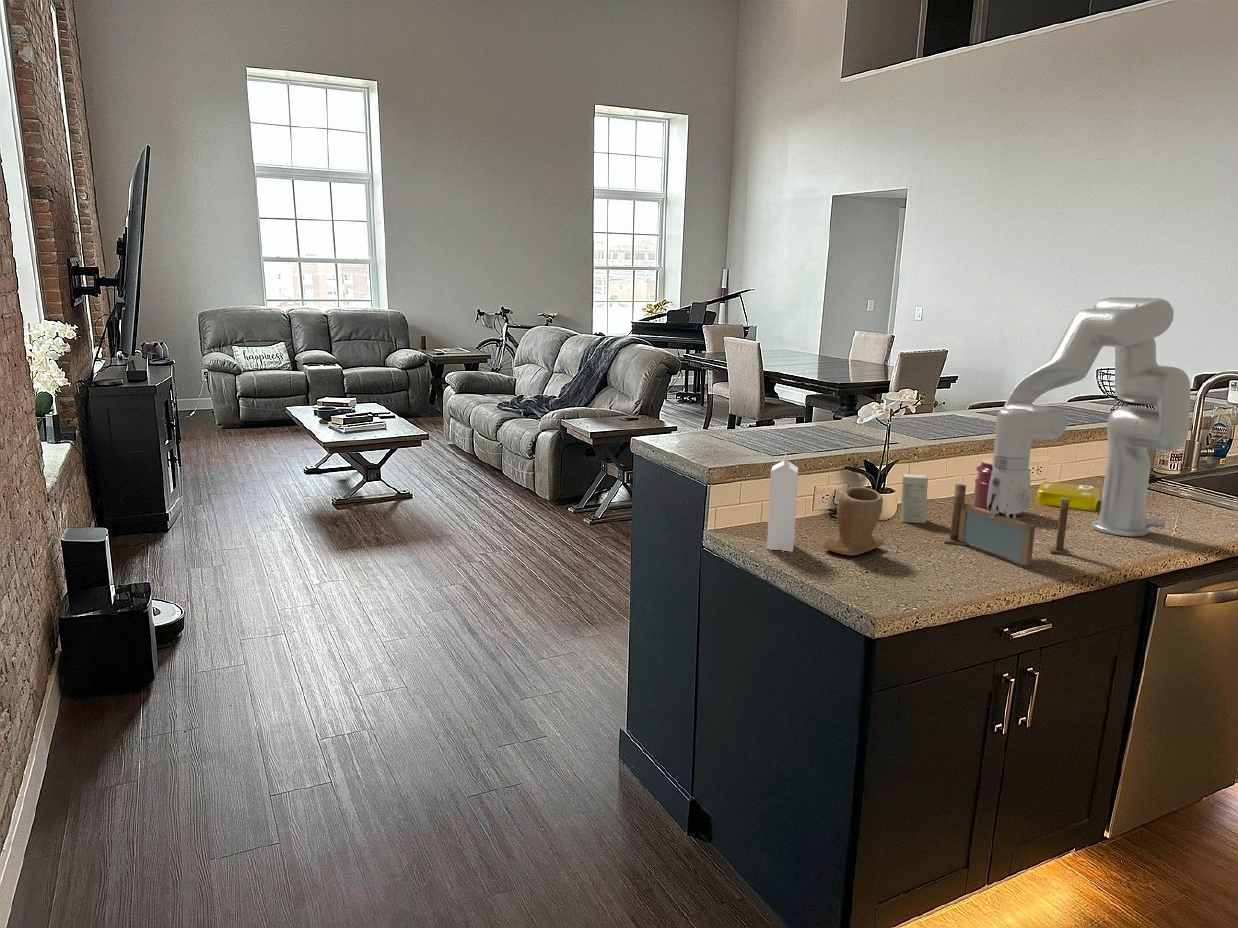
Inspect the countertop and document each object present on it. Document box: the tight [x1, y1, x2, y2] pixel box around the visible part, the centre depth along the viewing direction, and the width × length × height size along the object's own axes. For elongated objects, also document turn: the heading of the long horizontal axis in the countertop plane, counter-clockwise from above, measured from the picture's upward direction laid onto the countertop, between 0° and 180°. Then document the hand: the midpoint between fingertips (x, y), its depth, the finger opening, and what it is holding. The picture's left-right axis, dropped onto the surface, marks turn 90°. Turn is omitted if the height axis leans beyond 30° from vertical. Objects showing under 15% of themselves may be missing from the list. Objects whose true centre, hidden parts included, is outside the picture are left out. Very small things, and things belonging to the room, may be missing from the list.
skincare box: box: [900, 473, 929, 524], centre depth 222 cm, size 6×4×12 cm
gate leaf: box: [958, 503, 1036, 566], centre depth 193 cm, size 20×2×9 cm, turn 22°
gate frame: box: [943, 483, 1071, 556], centre depth 200 cm, size 27×5×14 cm, turn 71°
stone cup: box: [822, 486, 885, 556], centre depth 196 cm, size 15×12×15 cm
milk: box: [766, 453, 799, 553], centre depth 197 cm, size 6×6×22 cm
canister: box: [972, 454, 1024, 518], centre depth 231 cm, size 13×13×18 cm
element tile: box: [1036, 480, 1100, 512], centre depth 244 cm, size 15×15×5 cm
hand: (1003, 539), depth 197 cm, fingers closed
